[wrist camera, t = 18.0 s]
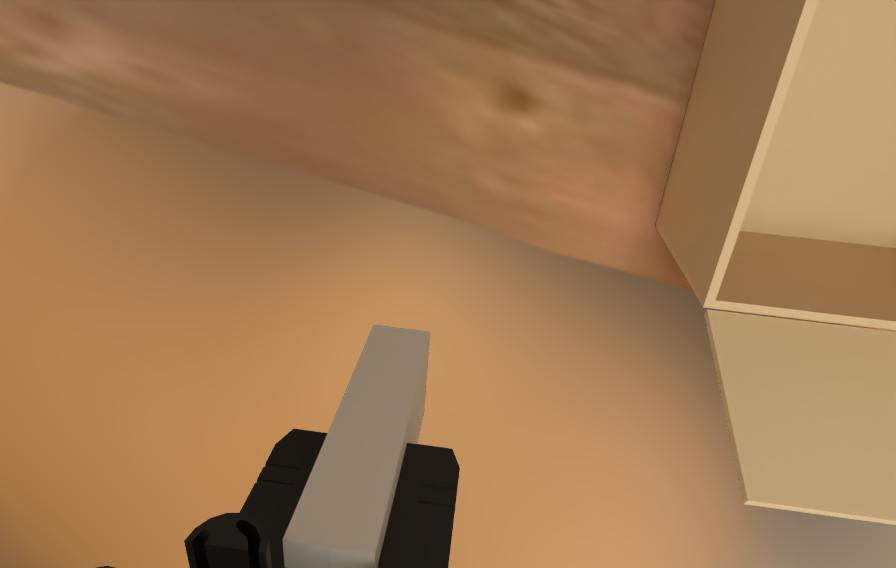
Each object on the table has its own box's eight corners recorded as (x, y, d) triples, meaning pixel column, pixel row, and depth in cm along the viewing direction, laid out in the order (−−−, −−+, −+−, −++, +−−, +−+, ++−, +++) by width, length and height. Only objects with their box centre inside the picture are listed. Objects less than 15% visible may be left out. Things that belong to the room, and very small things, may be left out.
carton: (746, -116, 37) (862, -169, 25) (1069, -91, 36) (1361, -134, 24) (655, 225, 48) (702, 307, 36) (898, 253, 47) (1035, 347, 35)
